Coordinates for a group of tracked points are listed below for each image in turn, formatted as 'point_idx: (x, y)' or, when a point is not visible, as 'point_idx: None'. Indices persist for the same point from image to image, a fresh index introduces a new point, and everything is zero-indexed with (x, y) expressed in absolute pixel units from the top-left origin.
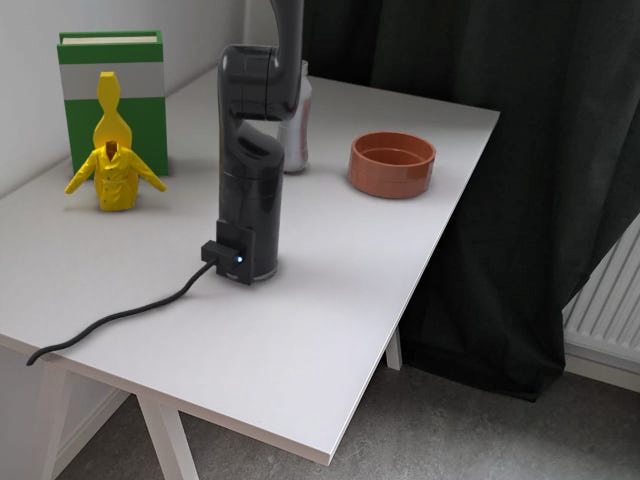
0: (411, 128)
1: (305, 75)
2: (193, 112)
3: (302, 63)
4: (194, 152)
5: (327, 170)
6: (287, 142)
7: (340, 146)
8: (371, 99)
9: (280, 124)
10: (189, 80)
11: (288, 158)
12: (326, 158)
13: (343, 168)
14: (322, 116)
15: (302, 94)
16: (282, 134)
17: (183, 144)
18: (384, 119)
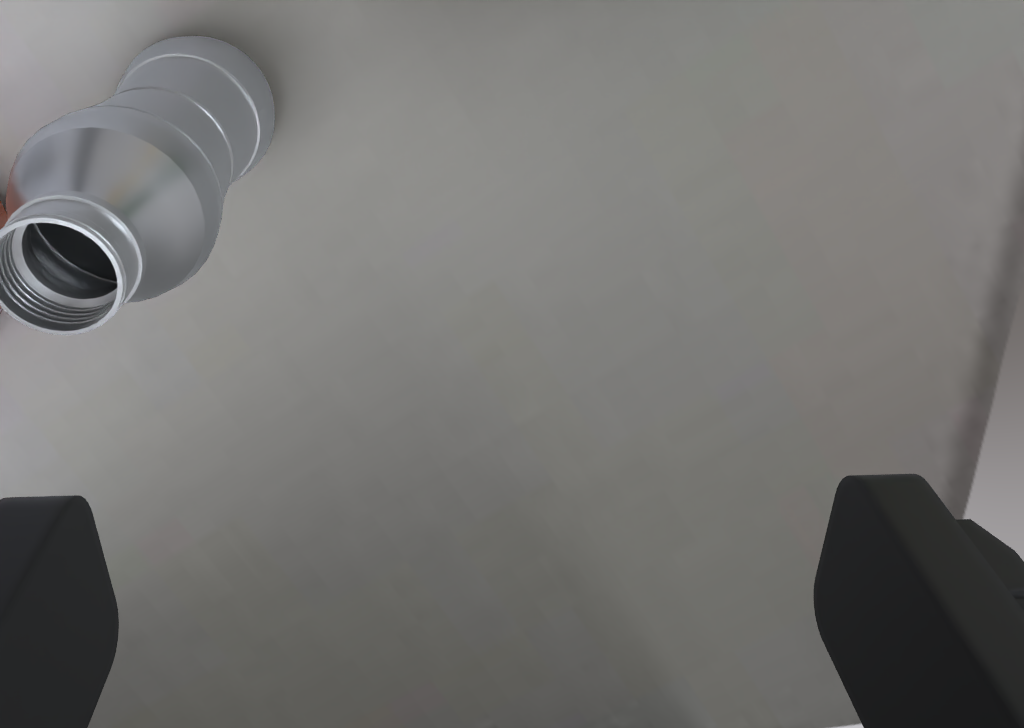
0: None
1: (30, 266)
2: (818, 328)
3: (65, 321)
4: (633, 4)
5: None
6: (152, 70)
7: (179, 375)
8: (319, 713)
9: (187, 99)
10: None
11: (155, 48)
12: None
13: None
14: (379, 539)
15: (14, 164)
16: (175, 79)
17: (715, 47)
18: (193, 620)
